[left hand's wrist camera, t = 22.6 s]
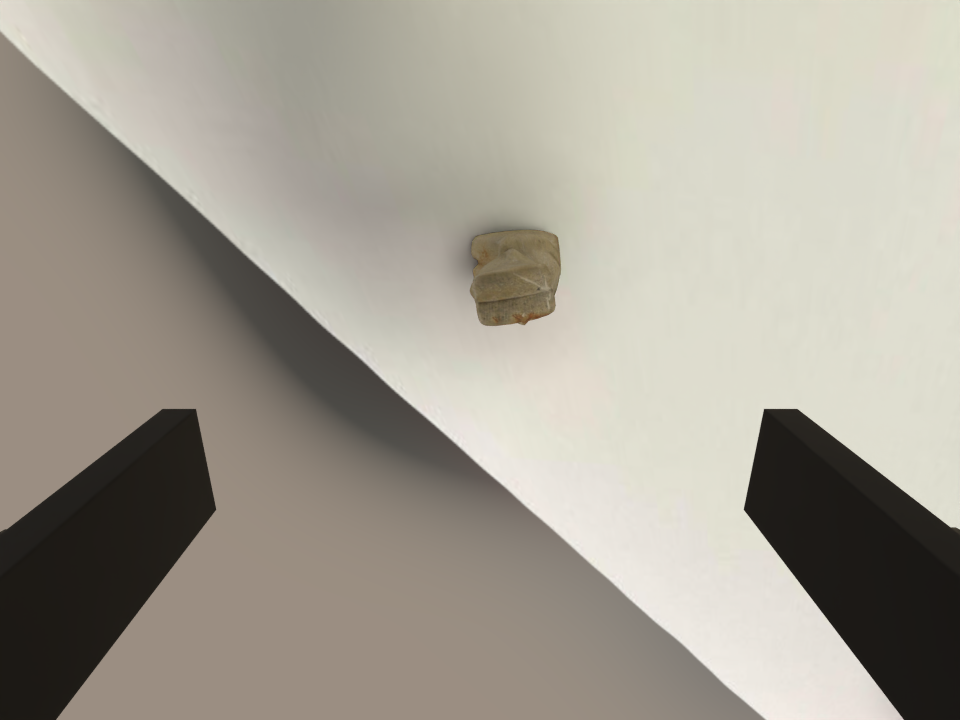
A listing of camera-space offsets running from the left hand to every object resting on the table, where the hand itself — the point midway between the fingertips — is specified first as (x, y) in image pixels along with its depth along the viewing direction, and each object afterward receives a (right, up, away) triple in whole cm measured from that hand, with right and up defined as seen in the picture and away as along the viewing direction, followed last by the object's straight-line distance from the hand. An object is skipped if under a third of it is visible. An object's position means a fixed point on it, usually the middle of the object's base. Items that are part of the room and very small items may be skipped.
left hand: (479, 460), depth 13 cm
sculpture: (+3, +12, +34) cm, 36 cm away
